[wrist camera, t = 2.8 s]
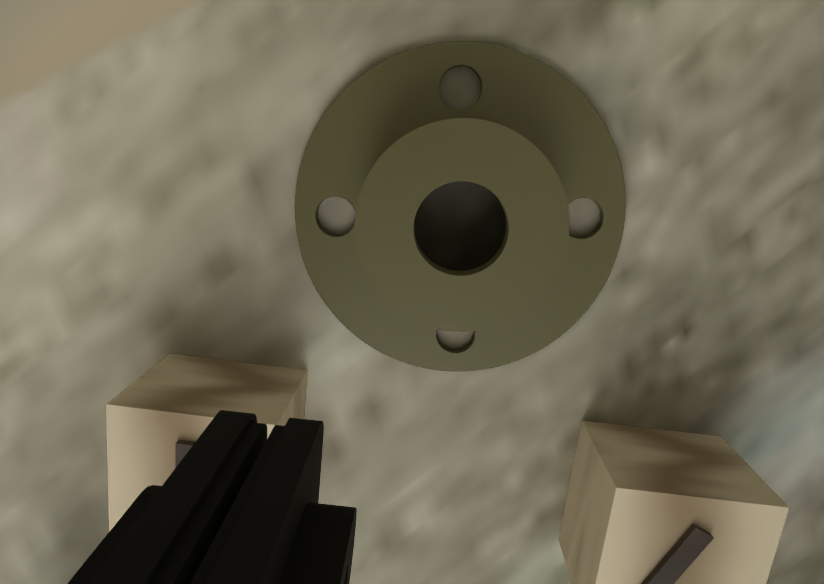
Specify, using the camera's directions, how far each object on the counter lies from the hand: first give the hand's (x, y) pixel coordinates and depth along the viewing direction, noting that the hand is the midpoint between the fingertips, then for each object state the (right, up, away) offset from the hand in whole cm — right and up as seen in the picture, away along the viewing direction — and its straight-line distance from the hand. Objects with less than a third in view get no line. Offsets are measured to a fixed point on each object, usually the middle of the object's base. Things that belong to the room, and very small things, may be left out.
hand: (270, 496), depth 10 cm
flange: (+5, +7, +18) cm, 20 cm away
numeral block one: (-7, -3, +21) cm, 22 cm away
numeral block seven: (+14, -7, +21) cm, 26 cm away
